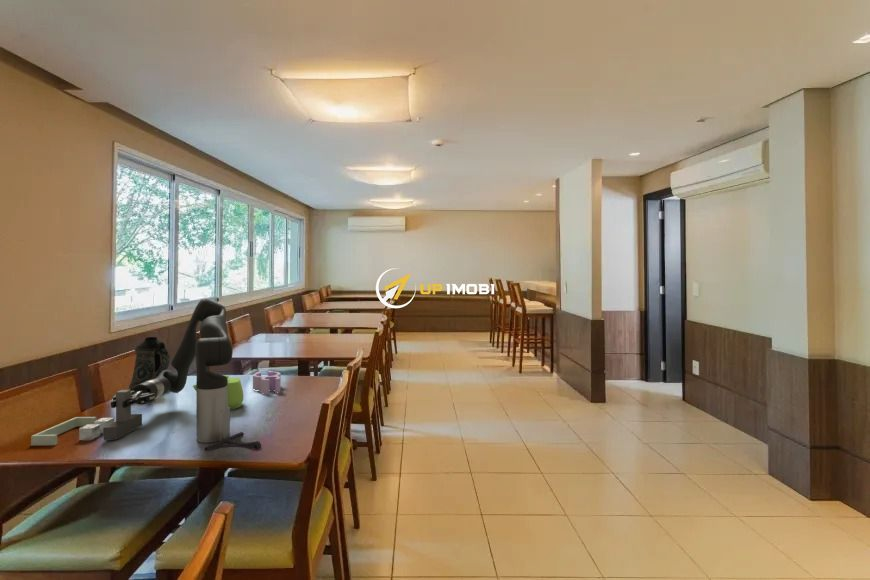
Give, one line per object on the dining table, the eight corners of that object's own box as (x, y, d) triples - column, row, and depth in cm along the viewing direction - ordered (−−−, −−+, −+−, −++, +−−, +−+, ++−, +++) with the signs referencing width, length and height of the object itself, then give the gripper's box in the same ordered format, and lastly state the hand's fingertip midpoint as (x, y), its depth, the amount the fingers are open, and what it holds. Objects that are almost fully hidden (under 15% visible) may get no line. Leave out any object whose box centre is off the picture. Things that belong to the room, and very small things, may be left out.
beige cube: (114, 429, 156) (114, 417, 155) (106, 433, 152) (106, 421, 151) (102, 429, 155) (102, 417, 155) (94, 433, 151) (94, 421, 151)
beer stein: (143, 387, 214) (143, 335, 213) (184, 387, 214) (184, 335, 214) (120, 396, 197) (119, 339, 197) (164, 396, 198) (164, 340, 197)
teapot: (189, 417, 169) (189, 383, 169) (196, 403, 188) (196, 372, 187) (242, 412, 176) (242, 379, 175) (244, 399, 194) (244, 369, 194)
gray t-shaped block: (142, 425, 158) (141, 385, 157) (116, 439, 144) (116, 396, 143) (130, 425, 157) (129, 385, 157) (103, 439, 143) (103, 396, 143)
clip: (286, 392, 207) (286, 378, 207) (258, 396, 200) (258, 380, 200) (276, 383, 224) (276, 370, 224) (250, 386, 217) (250, 372, 217)
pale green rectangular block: (96, 425, 159) (96, 416, 159) (54, 445, 140) (54, 435, 140) (75, 425, 158) (75, 417, 158) (31, 445, 139) (31, 436, 139)
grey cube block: (100, 436, 149) (100, 424, 148) (92, 440, 145) (92, 428, 144) (87, 436, 148) (87, 424, 148) (79, 440, 144) (79, 428, 144)
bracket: (242, 459, 132) (242, 450, 132) (204, 451, 138) (204, 443, 138) (275, 443, 146) (275, 434, 146) (240, 436, 151) (240, 428, 151)
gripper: (127, 381, 164) (95, 393, 147) (167, 381, 165) (140, 393, 148) (128, 401, 164) (95, 416, 147) (167, 401, 165) (140, 415, 148)
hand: (118, 404), depth 147 cm, fingers closed on gray t-shaped block, 3 cm apart
